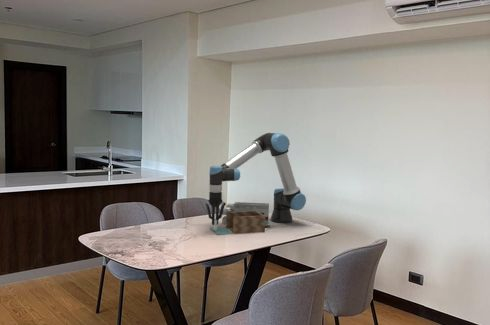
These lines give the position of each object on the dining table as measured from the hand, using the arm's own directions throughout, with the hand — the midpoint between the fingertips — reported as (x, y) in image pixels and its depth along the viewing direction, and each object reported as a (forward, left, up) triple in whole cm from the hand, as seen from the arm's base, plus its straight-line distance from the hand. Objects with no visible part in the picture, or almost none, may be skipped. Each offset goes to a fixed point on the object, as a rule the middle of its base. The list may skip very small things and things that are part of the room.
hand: (214, 229), depth 269 cm
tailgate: (-9, 0, -1) cm, 9 cm away
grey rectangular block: (-26, -17, -3) cm, 31 cm away
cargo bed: (-19, 0, -3) cm, 20 cm away
